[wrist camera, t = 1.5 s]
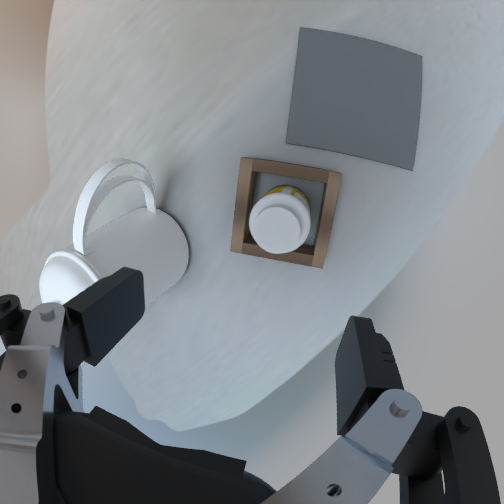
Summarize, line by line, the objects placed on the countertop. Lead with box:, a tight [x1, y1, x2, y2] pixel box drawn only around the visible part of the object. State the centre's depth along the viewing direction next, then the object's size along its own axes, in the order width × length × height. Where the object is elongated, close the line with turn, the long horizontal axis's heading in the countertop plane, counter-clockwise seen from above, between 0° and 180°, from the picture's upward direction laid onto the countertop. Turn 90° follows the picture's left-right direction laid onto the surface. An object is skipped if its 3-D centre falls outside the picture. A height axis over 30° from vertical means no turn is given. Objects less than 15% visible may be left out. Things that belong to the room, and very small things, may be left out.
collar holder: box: [230, 157, 342, 269], centre depth 29 cm, size 10×10×3 cm
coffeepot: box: [39, 158, 189, 368], centre depth 26 cm, size 11×25×19 cm, turn 161°
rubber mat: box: [286, 27, 422, 171], centre depth 24 cm, size 14×14×1 cm
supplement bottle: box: [249, 185, 311, 254], centre depth 26 cm, size 5×5×10 cm
